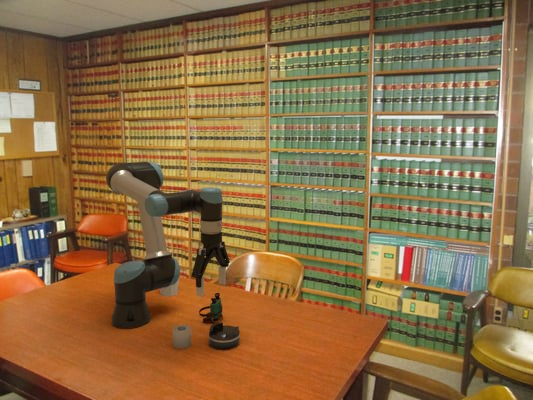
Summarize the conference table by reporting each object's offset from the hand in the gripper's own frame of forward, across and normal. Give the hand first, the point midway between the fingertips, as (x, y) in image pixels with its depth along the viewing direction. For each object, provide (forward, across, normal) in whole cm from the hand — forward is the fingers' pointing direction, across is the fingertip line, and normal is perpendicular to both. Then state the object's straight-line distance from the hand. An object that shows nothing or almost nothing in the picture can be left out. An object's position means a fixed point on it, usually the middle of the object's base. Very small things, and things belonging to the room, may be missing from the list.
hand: (211, 289), depth 152 cm
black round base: (+19, +1, -5) cm, 20 cm away
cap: (+20, -8, +7) cm, 22 cm away
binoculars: (+20, +14, +10) cm, 27 cm away
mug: (+20, +32, +46) cm, 59 cm away
